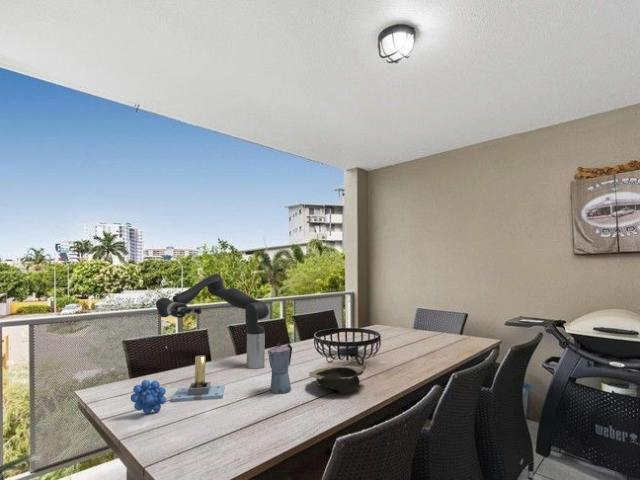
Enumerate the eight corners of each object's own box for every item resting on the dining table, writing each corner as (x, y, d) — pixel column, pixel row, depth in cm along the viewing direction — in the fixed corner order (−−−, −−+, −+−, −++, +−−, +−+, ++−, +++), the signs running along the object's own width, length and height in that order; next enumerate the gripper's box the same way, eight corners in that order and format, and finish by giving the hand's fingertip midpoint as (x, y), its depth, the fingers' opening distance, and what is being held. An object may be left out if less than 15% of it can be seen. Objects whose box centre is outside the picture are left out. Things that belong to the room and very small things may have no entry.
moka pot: (260, 393, 144) (260, 344, 146) (281, 382, 158) (281, 337, 160) (279, 397, 140) (280, 346, 141) (299, 386, 154) (299, 339, 155)
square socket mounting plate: (224, 388, 151) (224, 379, 152) (222, 398, 140) (222, 388, 140) (178, 391, 148) (178, 382, 148) (171, 401, 136) (172, 392, 136)
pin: (205, 389, 146) (206, 355, 147) (204, 393, 142) (204, 357, 143) (195, 390, 145) (196, 355, 146) (193, 393, 141) (194, 358, 142)
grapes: (130, 422, 118) (131, 385, 119) (129, 414, 124) (130, 380, 125) (167, 414, 124) (168, 380, 125) (165, 408, 130) (166, 374, 131)
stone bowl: (365, 399, 137) (362, 375, 138) (303, 400, 142) (301, 376, 143) (369, 378, 161) (367, 358, 162) (316, 380, 166) (314, 360, 167)
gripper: (190, 315, 187) (205, 318, 176) (163, 318, 177) (177, 322, 166) (190, 301, 188) (205, 303, 177) (163, 303, 177) (177, 305, 166)
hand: (192, 312), depth 171 cm, fingers open, 8 cm apart
